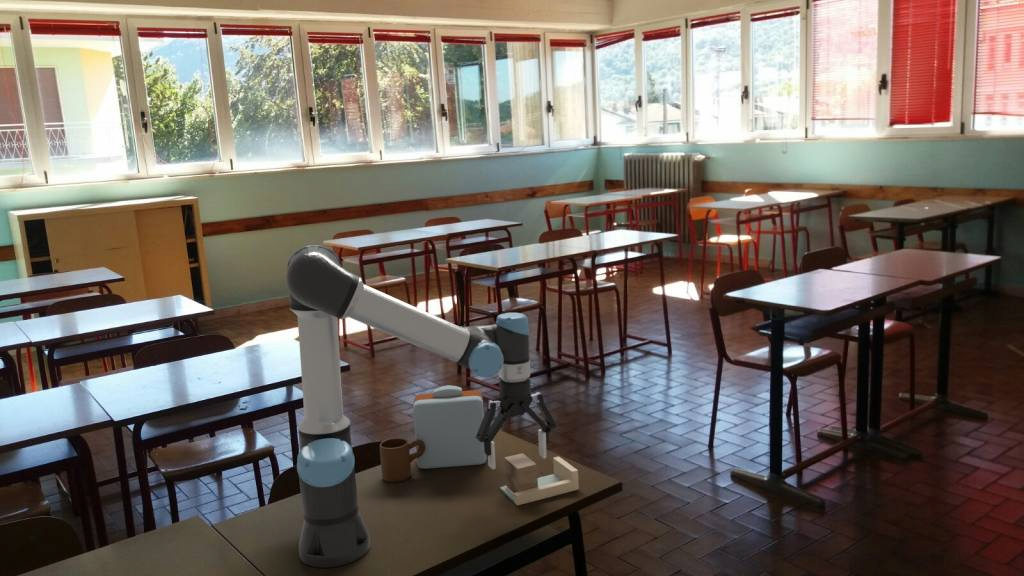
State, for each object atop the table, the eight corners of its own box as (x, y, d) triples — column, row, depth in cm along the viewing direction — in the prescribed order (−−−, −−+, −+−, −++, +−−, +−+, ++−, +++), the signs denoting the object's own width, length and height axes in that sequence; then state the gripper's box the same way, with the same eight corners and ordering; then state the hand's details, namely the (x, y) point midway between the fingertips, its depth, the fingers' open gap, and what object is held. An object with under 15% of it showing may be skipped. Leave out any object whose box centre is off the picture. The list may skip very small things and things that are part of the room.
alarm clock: (486, 452, 225) (481, 381, 222) (487, 464, 217) (482, 391, 213) (419, 457, 225) (413, 386, 221) (417, 470, 216) (411, 396, 212)
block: (506, 485, 202) (504, 457, 200) (524, 481, 204) (522, 453, 202) (519, 498, 194) (517, 468, 193) (538, 493, 196) (536, 464, 195)
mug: (423, 465, 219) (420, 432, 217) (431, 475, 212) (428, 441, 210) (379, 474, 215) (376, 441, 213) (386, 485, 208) (382, 450, 206)
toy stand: (517, 505, 192) (516, 485, 191) (500, 489, 201) (499, 470, 200) (578, 489, 199) (577, 470, 198) (559, 474, 208) (558, 456, 207)
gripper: (471, 390, 185) (475, 477, 189) (568, 373, 195) (570, 457, 199) (460, 381, 192) (464, 466, 196) (554, 366, 202) (556, 447, 206)
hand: (517, 461), depth 198 cm, fingers open, 13 cm apart
